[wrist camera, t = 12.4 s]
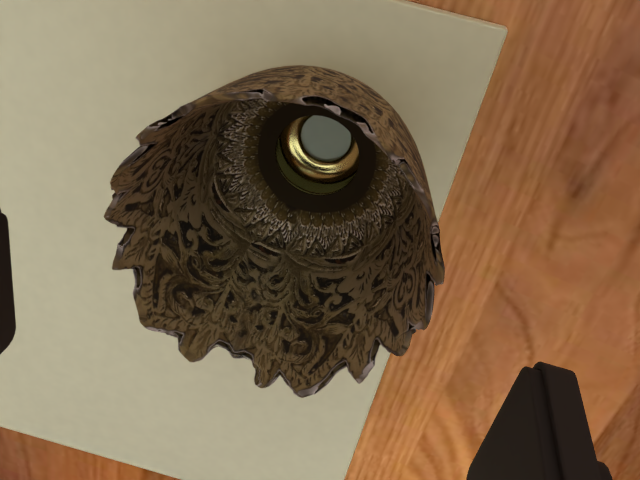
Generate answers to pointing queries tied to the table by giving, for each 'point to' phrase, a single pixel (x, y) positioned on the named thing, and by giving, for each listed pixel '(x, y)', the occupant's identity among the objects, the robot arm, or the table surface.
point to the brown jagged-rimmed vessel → (280, 228)
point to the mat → (102, 236)
